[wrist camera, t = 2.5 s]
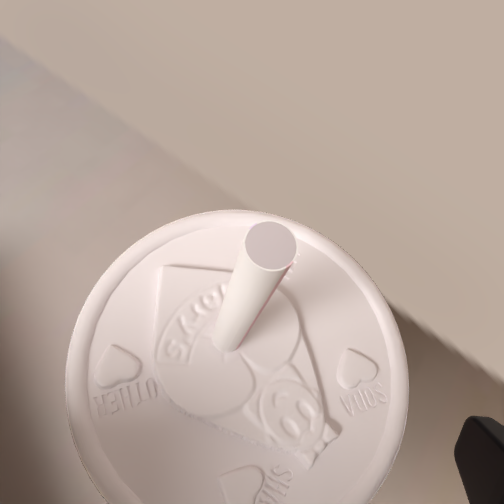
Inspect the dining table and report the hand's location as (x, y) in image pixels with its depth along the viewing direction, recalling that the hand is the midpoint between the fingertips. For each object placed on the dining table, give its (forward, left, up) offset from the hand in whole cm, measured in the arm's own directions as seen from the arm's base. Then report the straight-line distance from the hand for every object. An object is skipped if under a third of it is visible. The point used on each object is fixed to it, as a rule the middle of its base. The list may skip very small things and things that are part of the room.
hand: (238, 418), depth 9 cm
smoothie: (+1, 0, -9) cm, 9 cm away
